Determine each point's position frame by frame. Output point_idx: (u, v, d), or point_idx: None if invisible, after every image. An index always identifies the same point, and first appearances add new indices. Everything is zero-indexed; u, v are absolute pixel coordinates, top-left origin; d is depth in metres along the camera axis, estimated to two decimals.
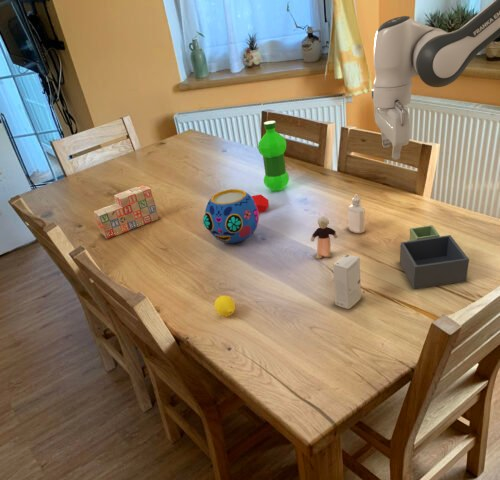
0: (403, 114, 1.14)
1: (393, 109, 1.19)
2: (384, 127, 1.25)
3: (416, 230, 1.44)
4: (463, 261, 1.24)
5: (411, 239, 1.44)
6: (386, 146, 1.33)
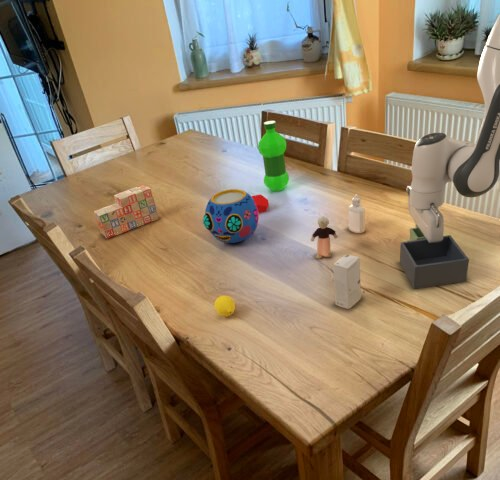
0: (439, 218, 1.28)
1: (428, 210, 1.32)
2: (418, 222, 1.39)
3: (416, 230, 1.44)
4: (463, 261, 1.24)
5: (411, 239, 1.44)
6: None
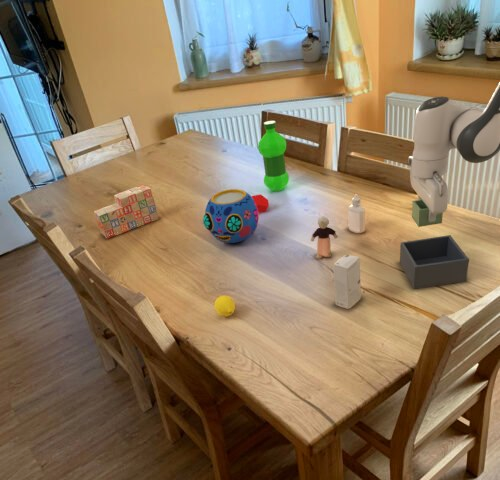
0: (442, 187, 1.22)
1: (431, 179, 1.27)
2: (421, 193, 1.34)
3: (419, 202, 1.38)
4: (463, 261, 1.24)
5: (414, 212, 1.39)
6: None
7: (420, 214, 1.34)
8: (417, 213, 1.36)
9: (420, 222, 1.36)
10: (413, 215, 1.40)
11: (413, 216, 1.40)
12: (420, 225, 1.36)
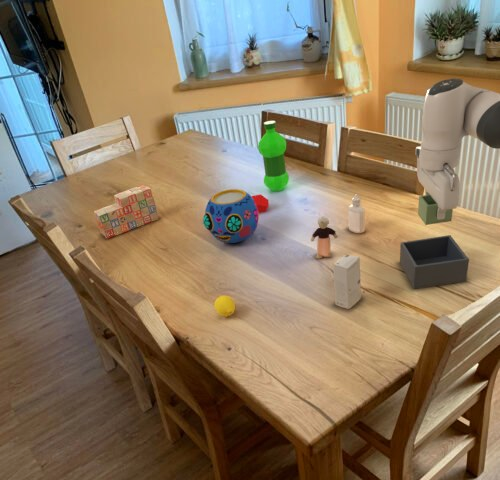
0: (454, 180, 1.09)
1: (441, 172, 1.14)
2: (429, 187, 1.21)
3: (426, 198, 1.25)
4: (463, 261, 1.24)
5: (420, 208, 1.26)
6: None
7: (428, 210, 1.21)
8: (424, 209, 1.23)
9: (427, 219, 1.23)
10: (419, 212, 1.27)
11: (419, 213, 1.27)
12: (427, 223, 1.23)
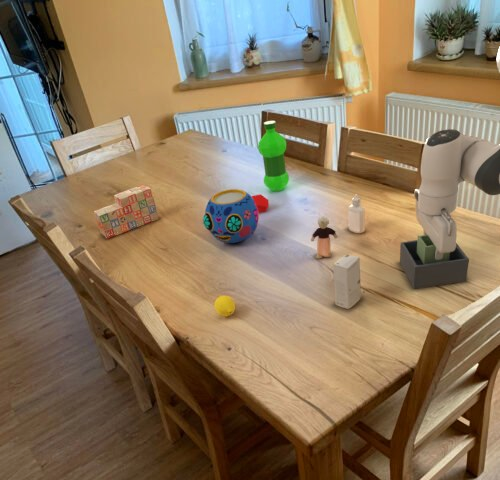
0: (451, 226, 1.14)
1: (439, 216, 1.19)
2: (428, 229, 1.25)
3: (425, 238, 1.30)
4: (463, 261, 1.24)
5: (419, 248, 1.30)
6: None
7: (426, 251, 1.26)
8: (423, 250, 1.27)
9: (426, 259, 1.27)
10: (418, 251, 1.31)
11: (418, 252, 1.31)
12: (426, 262, 1.28)
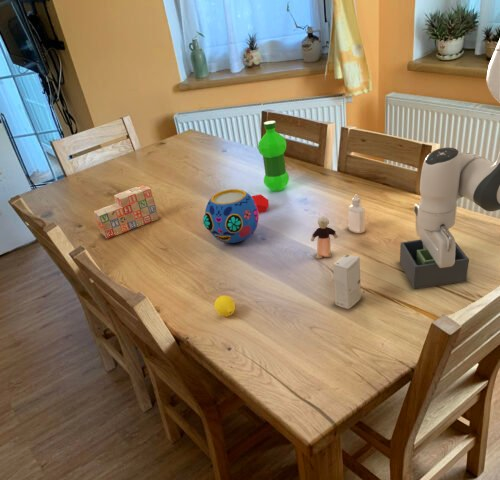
0: (450, 242, 1.17)
1: (438, 232, 1.21)
2: (427, 243, 1.28)
3: (424, 252, 1.33)
4: (463, 261, 1.24)
5: (418, 261, 1.33)
6: None
7: None
8: (422, 264, 1.30)
9: None
10: (417, 264, 1.34)
11: None
12: None
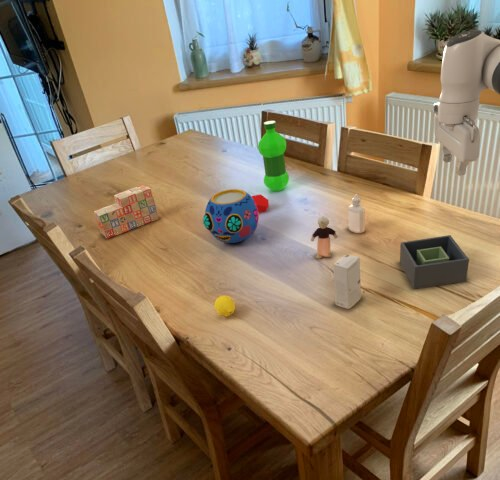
0: (474, 130, 1.11)
1: (461, 124, 1.15)
2: (448, 142, 1.22)
3: (424, 252, 1.33)
4: (463, 261, 1.24)
5: (418, 261, 1.33)
6: (447, 161, 1.29)
7: None
8: (422, 264, 1.30)
9: None
10: (417, 264, 1.34)
11: None
12: None
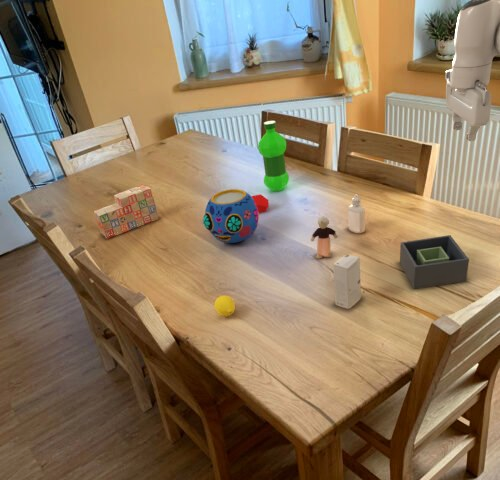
0: (486, 93, 1.14)
1: (473, 89, 1.18)
2: (459, 108, 1.25)
3: (424, 252, 1.33)
4: (463, 261, 1.24)
5: (418, 261, 1.33)
6: (457, 128, 1.32)
7: None
8: (422, 264, 1.30)
9: None
10: (417, 264, 1.34)
11: None
12: None
